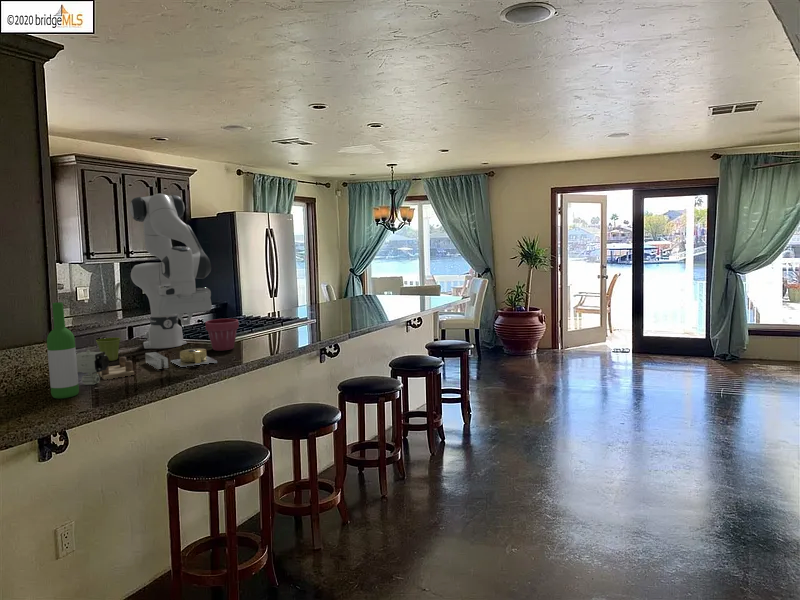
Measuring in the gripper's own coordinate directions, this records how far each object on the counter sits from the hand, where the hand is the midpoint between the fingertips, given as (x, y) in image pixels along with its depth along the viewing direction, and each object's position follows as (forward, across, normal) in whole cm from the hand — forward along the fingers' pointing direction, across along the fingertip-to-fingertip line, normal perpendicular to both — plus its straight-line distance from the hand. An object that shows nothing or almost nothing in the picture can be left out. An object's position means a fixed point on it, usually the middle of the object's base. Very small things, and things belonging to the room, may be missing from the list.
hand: (185, 324), depth 228 cm
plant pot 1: (+17, +21, -36) cm, 45 cm away
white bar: (+16, +9, -10) cm, 21 cm away
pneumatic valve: (+16, +35, +6) cm, 40 cm away
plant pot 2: (+17, -24, -27) cm, 40 cm away
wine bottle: (+16, +44, +18) cm, 51 cm away
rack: (+16, +25, -6) cm, 31 cm away
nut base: (+16, -4, -5) cm, 18 cm away
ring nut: (+15, -4, -3) cm, 16 cm away
